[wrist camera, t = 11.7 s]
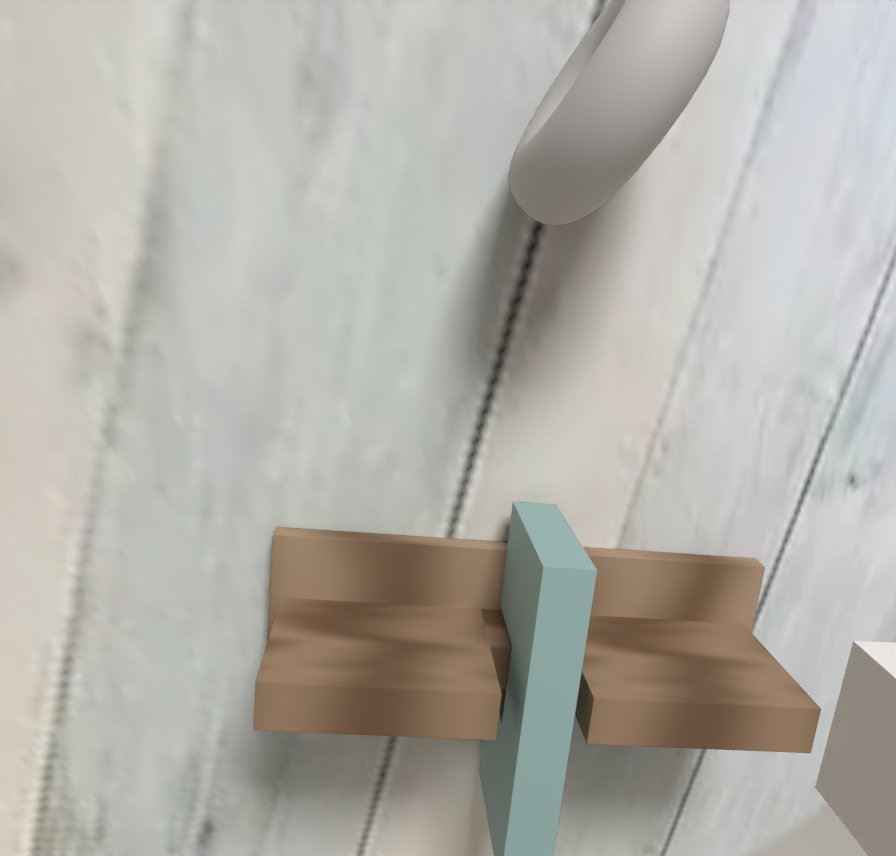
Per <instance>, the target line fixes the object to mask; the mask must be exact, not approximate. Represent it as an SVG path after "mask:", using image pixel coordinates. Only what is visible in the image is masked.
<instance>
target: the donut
mask: <svg viewBox="0 0 896 856" xmlns="http://www.w3.org/2000/svg"><path fill="white" fill-rule="evenodd" d="M728 15H729V0H611V1H610V3H609V4H608V5H607V6H606V8H605V9H604V10H603V12H602V13H601V14H600V16H599V17H598V18H597V20H596V21H595V22H594V24H593V25H592V27H591V28H590V29H589V31H588V32H587V33H586V35H585V36H584V38H583V39H582V41H581V42H580V43H579V45H578V46H577V48H576V49H575V51H574V52H573V54H572V55H571V57H570V58H569V59H568V61H567V62H566V64H565V66H564V67H563V69H562V70H561V72H560V73H559V75H558V76H557V78H556V79H555V81H554V82H553V84H552V85H551V87H550V89H549V90H548V92H547V94H546V95H545V97H544V98H543V100H542V102H541V103H540V105H539V107H538V108H537V110H536V112H535V114H534V115H533V117H532V119H531V121H530V122H529V124H528V126H527V128H526V130H525V132H524V134H523V136H522V138H521V140H520V142H519V144H518V146H517V148H516V150H515V152H514V155H513V158H512V161H511V164H510V171H509V183H510V189H511V192H512V194H513V196H514V198H515V200H516V202H517V204H518V205H519V206H520V208H521V209H522V210H523V211H524V212H525V213H526V214H527V215H528V216H529V217H530V218H532V219H534V220H536V221H538V222H540V223H542V224H547V225H556V226H558V225H563V224H568V223H572V222H574V221H576V220H579V219H581V218H583V217H585V216H587V215H588V214H590V213H592V212H593V211H595V210H596V209H598V208H599V207H600V206H601V205H602V204H604V203H605V202H606V201H607V200H608V199H610V198H611V197H612V196H613V195H614V194H615V193H616V192H617V191H618V190H619V189H620V188H621V187H622V186H623V185H624V184H625V183H626V182H627V181H628V180H629V179H630V178H631V176H632V175H633V174H634V173H635V172H636V171H637V170H638V169H639V168H640V166H641V165H642V164H643V163H644V161H645V160H646V159H647V158H648V157H649V155H650V154H651V153H652V152H653V150H654V149H655V148H656V147H657V146H658V144H659V143H660V142H661V141H662V139H663V138H664V137H665V135H666V134H667V132H668V131H669V130H670V128H671V127H672V125H673V124H674V123H675V121H676V120H677V118H678V117H679V116H680V114H681V113H682V112H683V110H684V109H685V107H686V106H687V104H688V103H689V101H690V99H691V98H692V96H693V95H694V93H695V91H696V90H697V88H698V86H699V85H700V83H701V82H702V80H703V78H704V77H705V75H706V73H707V71H708V69H709V67H710V65H711V63H712V61H713V59H714V57H715V55H716V53H717V51H718V49H719V47H720V44H721V41H722V37H723V34H724V31H725V27H726V23H727V19H728Z"/></svg>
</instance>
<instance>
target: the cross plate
mask: <svg viewBox="0 0 896 856" xmlns="http://www.w3.org/2000/svg"><path fill="white" fill-rule="evenodd" d="M596 575H597V569H596V567H595V566H594V564H593V563H592V561H591V559H590V558H589V556H588V555H587V553H586V551H585V550H584V548H583V547H582V545H581V543H580V542H579V540H578V539H577V537H576V535H575V534H574V532H573V531H572V529H571V527H570V526H569V524H568V523H567V521H566V519H565V518H564V516H563V515H562V513H561V511H560V510H559V508H558V507H557V505H554V504H540V503H526V502H513V505H512V513H511V521H510V529H509V537H508V545H507V553H506V561H505V569H504V577H503V585H502V593H501V601H500V607H501V610H502V613H503V616H504V620H505V623H506V626H507V630H508V633H509V636H510V640H511V643H512V650H511V658H510V666H509V673H508V681H507V689H506V690H501V693H502V696H501V703H500V711H499V719H498V727H497V735H496V740H483V746H482V754H481V762H480V770H479V771H480V777H481V782H482V788H483V794H484V800H485V806H486V812H487V818H488V824H489V830H490V835H491V841H492V847H493V853H494V856H553V854H554V848H555V841H556V835H557V828H558V822H559V815H560V809H561V802H562V796H563V789H564V783H565V776H566V770H567V763H568V757H569V750H570V744H571V737H572V731H573V724H574V718H575V711H576V705H577V698H578V692H579V685H580V679H581V672H582V666H583V659H584V653H585V646H586V640H587V633H588V627H589V620H590V614H591V607H592V601H593V594H594V588H595V581H596Z"/></svg>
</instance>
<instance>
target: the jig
mask: <svg viewBox="0 0 896 856" xmlns="http://www.w3.org/2000/svg"><path fill="white" fill-rule="evenodd" d="M507 545H508V542H496V541H481V540H466V539H451V538H435V537H420V536H405V535H390V534H374V533H359V532H344V531H329V530H313V529H298V528H283V527H276V529H275V531H274V534H273V545H272V565H271V585H270V605H269V625H268V643H267V646H266V650H265V653H264V656H263V660H262V663H261V666H260V670H259V673H258V676H257V680H256V686H255V708H254V729H253V730H263V731H287V732H311V733H335V734H359V735H384V736H408V737H432V738H456V739H480V740H496V735H497V727H498V719H499V711H500V703H501V696H502V693H501V690H506V689H507V681H508V673H509V666H510V658H511V650H512V643H511V640H510V636H509V633H508V630H507V626H506V623H505V620H504V616H503V613H502V610H501V607H500V601H501V593H502V585H503V577H504V569H505V561H506V553H507ZM583 548H584V550H585V551H586V553H587V555H588V556H589V558H590V559H591V561H592V563H593V564H594V566H595V567H596V569H597V575H596V581H595V588H594V594H593V601H592V607H591V614H590V620H589V627H588V633H587V640H586V646H585V653H584V659H583V666H582V672H581V679H580V685H579V692H578V698H577V705H576V711H575V715H576V717H577V720H578V722H579V725H580V728H581V730H582V733H583V735H584V738H585V740H586V743H587V744H601V745H626V746H650V747H674V748H698V749H722V750H747V751H771V752H795V753H811V750H812V745H813V741H814V737H815V732H816V728H817V724H818V720H819V715H820V711H821V708H820V707H819V706H818V705H817V704H816V703H815V702H814V701H813V700H812V699H811V697H810V696H809V695H808V694H807V693H806V692H805V691H804V690H803V689H802V688H801V687H800V685H799V684H798V683H797V682H796V681H795V680H794V679H793V678H792V677H791V676H790V675H789V673H788V672H787V671H786V670H785V669H784V668H783V667H782V666H781V665H780V664H779V663H778V661H777V660H776V659H775V658H774V657H773V656H772V655H771V654H770V653H769V652H768V651H767V649H766V648H765V647H764V646H763V645H762V644H761V643H760V642H759V641H758V640H757V639H756V637H755V636H754V635H753V634H752V628H753V623H754V618H755V613H756V608H757V603H758V599H759V594H760V589H761V584H762V579H763V574H764V570H765V566H763V565H762V564H761V563H760V562H759V561H758V560H757V559H755V558H740V557H725V556H710V555H694V554H679V553H664V552H649V551H633V550H618V549H603V548H588V547H583Z"/></svg>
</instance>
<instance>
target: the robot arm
mask: <svg viewBox="0 0 896 856" xmlns="http://www.w3.org/2000/svg"><path fill="white" fill-rule="evenodd" d="M815 788H816V789H817V790H818V791H819V793H820V794H821V795H822V797H823V798H824V799H825V801H826V802H827V803H828V804H829V806H830V807H831V808H832V809H833V811H834V812H835V813H836V815H837V816H838V817H839V819H840V820H841V821H842V822H843V824H844V825H845V826H846V828H847V829H848V830H849V831H850V833H851V834H852V835H853V837H854V838H855V839H856V840H857V842H858V843H859V844H860V846H861V847H862V848H863V849H864V851H865V852H866V853H867V855H868V856H896V643H893V642H868V641H853V644H852V648H851V652H850V656H849V660H848V664H847V667H846V671H845V675H844V679H843V683H842V687H841V691H840V694H839V698H838V702H837V706H836V710H835V714H834V718H833V721H832V725H831V729H830V733H829V737H828V741H827V744H826V748H825V752H824V756H823V760H822V764H821V768H820V771H819V775H818V779H817V783H816V787H815Z"/></svg>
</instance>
